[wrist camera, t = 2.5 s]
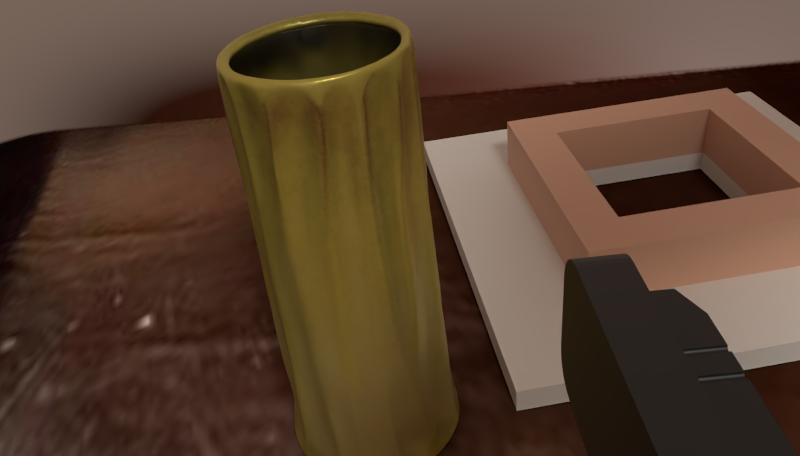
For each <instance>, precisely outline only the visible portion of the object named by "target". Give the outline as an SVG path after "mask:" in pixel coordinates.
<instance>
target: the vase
mask: <svg viewBox="0 0 800 456" xmlns="http://www.w3.org/2000/svg"><path fill="white" fill-rule="evenodd" d="M216 66H217V73H218V79H219V85H220V89H221V94H222V98H223V103H224V107H225V112H226V117H227V121H228V125H229V129H230V133H231V137H232V141H233V145H234V148H235V152H236V156H237V160H238V163H239V167H240V171H241V175H242V180H243V184H244V188H245V192H246V197H247V201H248V205H249V210H250V215H251V220H252V224H253V229H254V233H255V238H256V242H257V247H258V251H259V256H260V260H261V265H262V270H263V275H264V279H265V284H266V288H267V293H268V297H269V301H270V306H271V310H272V315H273V320H274V324H275V329H276V333H277V337H278V342H279V346H280V349H281V353H282V357H283V362H284V365H285V368H286V372H287V375H288V378H289V381H290V384H291V388H292V391H293V395H294V401H295V405H294V423H295V431H296V436H297V439H298V442H299V444H300V446H301V448H302V450H303V451H304V453H305V455H306V456H436V455H438V454H439V452H440V451H441V450H442V449H443V448H444V447H445V445H446V444H447V443H448V441H449V440H450V438H451V437H452V435H453V433H454V431H455V428H456V426H457V423H458V420H459V402H458V396H457V391H456V387H455V384H454V381H453V378H452V374H451V371H450V363H449V354H448V346H447V338H446V331H445V324H444V318H443V311H442V303H441V292H440V283H439V274H438V267H437V259H436V251H435V242H434V235H433V227H432V219H431V212H430V205H429V195H428V183H427V167H426V156H425V147H424V137H423V128H422V118H421V106H420V94H419V85H418V76H417V69H416V59H415V48H414V42H413V38H412V35H411V32H410V30H409V28H408V27H407V26H406V25H405V24H404V23H402V22H401V21H400V20H398V19H396V18H393V17H390V16H386V15H381V14H375V13H369V12H361V11H343V12H342V11H341V12H325V13H316V14H309V15H304V16H299V17H294V18H289V19H285V20H281V21H277V22H274V23H272V24H269V25H266V26H263V27H260V28H258V29H256V30H253V31H251V32H249V33H246V34H244V35H242V36H240V37H238V38H237V39H235V40H234V41H232V42H231V43H230V44H229V45H227V46H226V47H225V48H224V49H223V50H222V51H221V52H220V54H219V55H218V58H217V62H216Z"/></svg>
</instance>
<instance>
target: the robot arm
mask: <svg viewBox="0 0 800 456" xmlns="http://www.w3.org/2000/svg"><path fill="white" fill-rule="evenodd" d="M561 360H562V370H563V376H564V382H565V386H566V390H567V394H568V397H569V400H570V403H571V406H572V409H573V412H574V415H575V418H576V421H577V424H578V427H579V430H580V433H581V436H582V439H583V442H584V445H585V448H586V451H587V454H588V456H798V455H797V453H796V452H795V450H794V449H793V447H792V445H791V444H790V442H789V441H788V439H787V437H786V436H785V434H784V433H783V431H782V430H781V428H780V426H779V425H778V423H777V422H776V420H775V419H774V417H773V415H772V414H771V412H770V411H769V409H768V408H767V406H766V404H765V403H764V401H763V400H762V398H761V397H760V395H759V393H758V392H757V390H756V389H755V387H754V386H753V384H752V382H751V381H750V379H749V378H748V379H746V378H745V374H744V372H745V371H744V370H743V368H742V367H741V365H740V364H739V362H738V360H737V359H736V357H735V356H734V354H733V353H732V351H728V345H727V343H726V342H725V340H724V338H723V337H722V335H721V334H720V332H719V331H718V329H717V327H716V326H715V324H714V323H713V321H712V320H711V318H710V316H709V315H708V313H706V312H705V311H704V310H702V309H701V308H700V307H698V306H697V305H696V304H694V303H693V302H692V301H690V300H689V299H688V298H686V297H685V296H684V295H682V294H681V293H680V292H678V291H677V290H676V289H664V290H654V291H649V289H648V287H647V285H646V284H645V282H644V280H643V278H642V276H641V275H640V273H639V271H638V269H637V267H636V266H635V264H634V262H633V260H632V259H631V257H630V256H629V255H628V254H614V255H605V256H595V257H585V258H575V259H568V260H567V262H566V265H565V271H564V290H563V313H562V335H561Z"/></svg>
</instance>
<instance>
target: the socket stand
mask: <svg viewBox="0 0 800 456" xmlns="http://www.w3.org/2000/svg"><path fill="white" fill-rule="evenodd" d="M424 147H425V156H426V163H427V165H428V168H429V171H430V174H431V176H432V179H433V182H434V185H435V187H436V190H437V193H438V196H439V198H440V201H441V204H442V207H443V209H444V212H445V215H446V218H447V221H448V223H449V226H450V229H451V232H452V234H453V237H454V240H455V243H456V245H457V248H458V251H459V254H460V256H461V259H462V262H463V265H464V267H465V270H466V273H467V276H468V278H469V281H470V284H471V287H472V289H473V292H474V295H475V298H476V300H477V303H478V306H479V309H480V311H481V314H482V317H483V320H484V323H485V325H486V328H487V331H488V334H489V336H490V339H491V342H492V345H493V347H494V350H495V353H496V356H497V358H498V361H499V364H500V367H501V369H502V372H503V375H504V378H505V380H506V383H507V386H508V389H509V391H510V394H511V397H512V400H513V402H514V405H515V408H516V411H519V410H525V409H530V408H536V407H541V406H547V405H553V404H558V403H564V402H569V401H570V400H569V397H568V394H567V390H566V386H565V382H564V376H563V370H562V360H561V335H562V313H563V290H564V271H565V265H566V262H567V260H568V259H575V258H585V257H595V256H605V255H614V254H628V255H629V256H630V257H631V259H632V260H633V262H634V264H635V266H636V267H637V269H638V271H639V273H640V275H641V276H642V278H643V280H644V282H645V284H646V285H647V287H648V289H649V291H654V290H664V289H676V290H677V291H678V292H680V293H681V294H682V295H684V296H685V297H686V298H688V299H689V300H690V301H692V302H693V303H694V304H696V305H697V306H698V307H700V308H701V309H702V310H704V311H705V312H706V313H708V315H709V316H710V318H711V320H712V321H713V323H714V324H715V326H716V327H717V329H718V331H719V332H720V334H721V335H722V337H723V338H724V340H725V342H726V343H727V345H728V351H732V353H733V354H734V356H735V357H736V359H737V360H738V362H739V364H740V365H741V367H742V368H743V370H748V369H753V368H759V367H764V366H770V365H775V364H781V363H787V362H792V361H798V360H800V127H799V126H798V125H796V124H795V123H794V122H792V121H791V120H789V119H788V118H787V117H785V116H784V115H782V114H781V113H780V112H778V111H777V110H776V109H774V108H773V107H771V106H770V105H769V104H767V103H766V102H764V101H763V100H762V99H760V98H759V97H757V96H756V95H755V94H753V93H752V92H743V93H737V94H734V93H733V92H732V91H730V90H729V89H728V88H723V89H717V90H710V91H704V92H697V93H691V94H684V95H678V96H672V97H665V98H659V99H652V100H646V101H639V102H633V103H626V104H620V105H613V106H607V107H600V108H594V109H587V110H581V111H574V112H568V113H561V114H555V115H548V116H542V117H536V118H529V119H523V120H516V121H510V122H507V129H505V130H498V131H492V132H485V133H479V134H472V135H466V136H459V137H453V138H447V139H440V140H434V141H427V142H424ZM695 169H701V170H702V171H703V172H704V173H705V174H706V175H707V176H708V177H709V178H710V179H711V180H712V181H713V182H714V183H715V184H716V185H717V186H719V187H720V188H721V189H722V190H723V191H724V192H725V193H726V194H727V195H728V196H729V197H730V198H731V199H726V200H720V201H714V202H708V203H702V204H696V205H690V206H684V207H677V208H671V209H665V210H659V211H653V212H647V213H641V214H635V215H629V216H623V217H618V216H617V214H616V213H615V212H614V210H613V209H612V208H611V206H610V205H609V204H608V202H607V201H606V199H605V198H604V197H603V195H602V194H601V193H600V191H599V190H598V189H597V187H596V185H602V184H609V183H615V182H621V181H627V180H633V179H640V178H646V177H652V176H658V175H664V174H671V173H677V172H683V171H689V170H695Z"/></svg>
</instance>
